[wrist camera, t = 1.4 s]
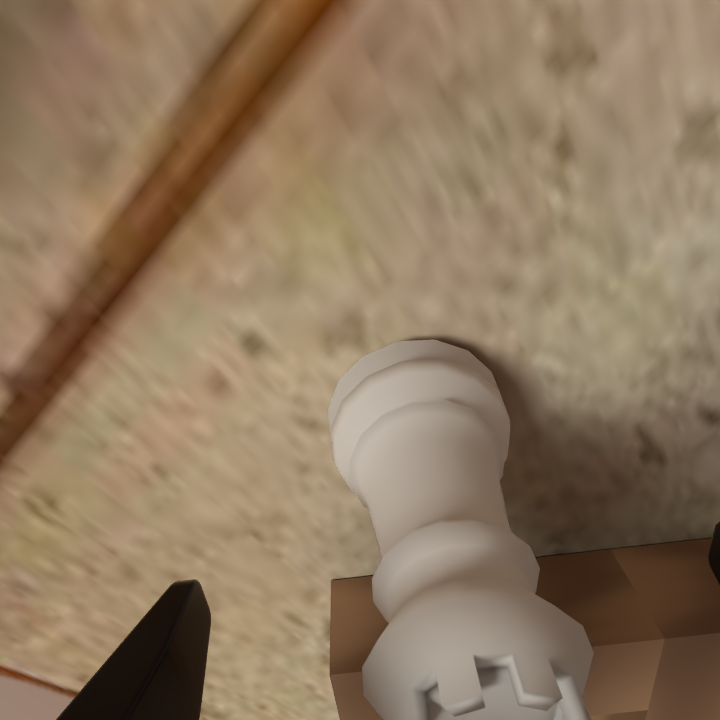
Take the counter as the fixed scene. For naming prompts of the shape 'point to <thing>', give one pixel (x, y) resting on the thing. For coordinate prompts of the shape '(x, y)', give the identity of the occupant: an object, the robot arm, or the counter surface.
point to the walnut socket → (590, 631)
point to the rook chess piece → (449, 546)
